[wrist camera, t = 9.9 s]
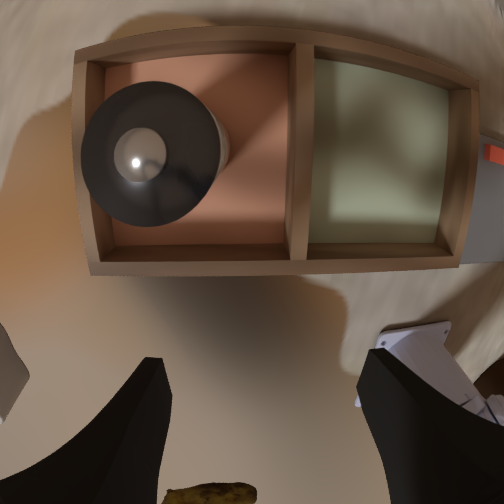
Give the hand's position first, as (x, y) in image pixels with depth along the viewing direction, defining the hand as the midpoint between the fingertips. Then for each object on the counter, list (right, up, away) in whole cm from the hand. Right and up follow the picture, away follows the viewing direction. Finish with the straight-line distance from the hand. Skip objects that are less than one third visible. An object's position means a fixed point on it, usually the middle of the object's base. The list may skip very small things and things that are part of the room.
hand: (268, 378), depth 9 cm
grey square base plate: (+19, +8, +8) cm, 22 cm away
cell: (-4, +10, +5) cm, 11 cm away
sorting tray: (+2, +10, +6) cm, 12 cm away
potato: (-7, -29, +22) cm, 37 cm away
